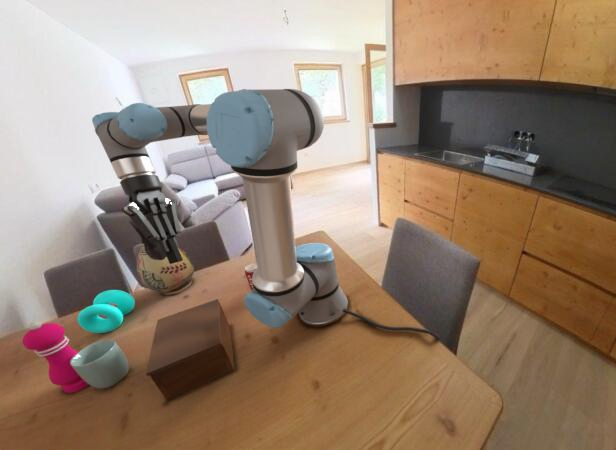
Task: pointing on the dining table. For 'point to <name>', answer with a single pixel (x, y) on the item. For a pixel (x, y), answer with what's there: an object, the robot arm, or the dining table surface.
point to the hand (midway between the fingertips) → (176, 262)
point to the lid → (185, 336)
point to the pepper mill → (54, 354)
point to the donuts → (106, 311)
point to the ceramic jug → (162, 268)
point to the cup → (101, 364)
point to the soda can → (250, 273)
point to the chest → (198, 367)
